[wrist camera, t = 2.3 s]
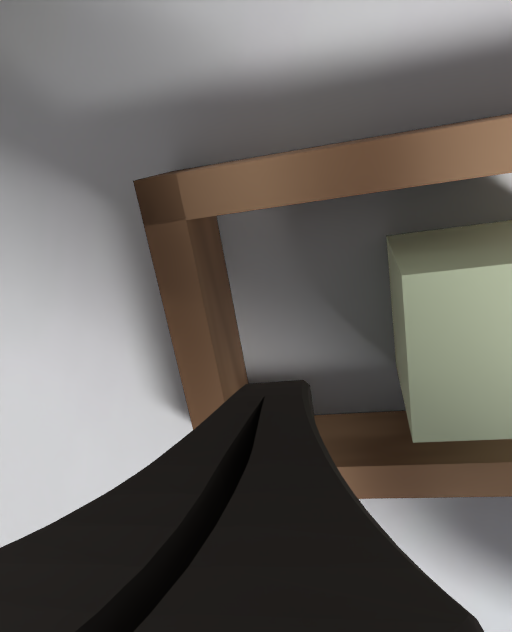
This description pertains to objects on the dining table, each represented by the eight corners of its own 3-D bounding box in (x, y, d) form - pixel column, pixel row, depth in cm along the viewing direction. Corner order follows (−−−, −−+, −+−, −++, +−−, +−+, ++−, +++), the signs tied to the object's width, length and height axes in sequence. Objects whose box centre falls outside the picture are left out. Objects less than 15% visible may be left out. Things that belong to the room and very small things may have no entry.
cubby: (623, 94, 13) (699, 85, 10) (596, 432, 16) (648, 494, 13) (170, 171, 15) (133, 180, 13) (230, 446, 19) (210, 500, 16)
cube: (544, 215, 14) (626, 250, 10) (539, 354, 16) (610, 435, 12) (385, 235, 15) (401, 275, 11) (396, 364, 17) (413, 442, 13)
